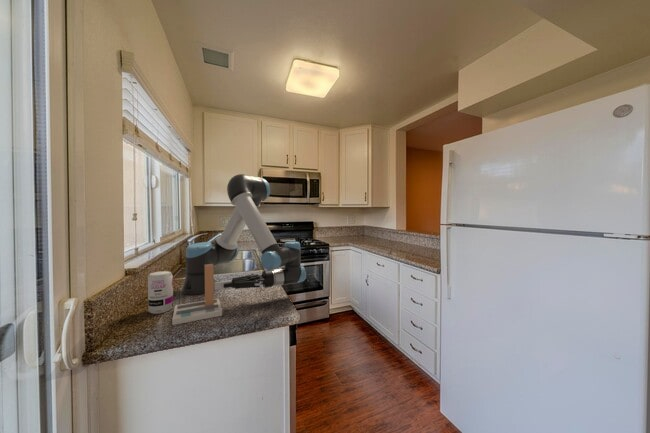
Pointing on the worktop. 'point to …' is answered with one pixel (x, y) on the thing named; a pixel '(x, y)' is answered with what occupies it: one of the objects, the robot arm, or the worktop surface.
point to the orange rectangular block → (209, 284)
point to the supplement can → (160, 292)
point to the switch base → (195, 311)
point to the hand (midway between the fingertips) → (214, 286)
